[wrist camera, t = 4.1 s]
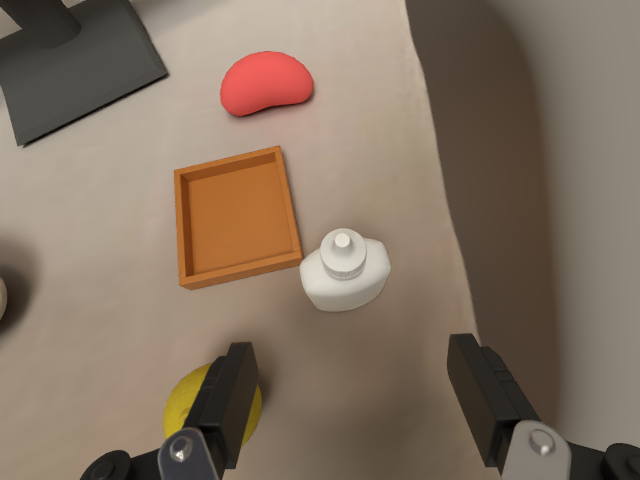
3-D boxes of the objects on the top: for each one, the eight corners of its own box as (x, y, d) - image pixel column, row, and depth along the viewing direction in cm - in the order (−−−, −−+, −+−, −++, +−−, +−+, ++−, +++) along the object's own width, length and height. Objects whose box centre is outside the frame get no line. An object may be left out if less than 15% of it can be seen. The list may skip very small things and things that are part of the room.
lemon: (283, 374, 24) (253, 383, 17) (257, 454, 22) (210, 504, 15) (220, 351, 25) (164, 350, 18) (190, 425, 24) (115, 459, 16)
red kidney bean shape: (245, 86, 36) (204, 61, 31) (313, 55, 33) (281, 20, 27) (252, 130, 36) (212, 113, 31) (321, 104, 32) (291, 79, 27)
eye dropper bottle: (320, 257, 27) (298, 189, 16) (385, 272, 26) (410, 210, 15) (306, 307, 26) (272, 271, 14) (374, 324, 25) (394, 299, 14)
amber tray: (305, 264, 27) (301, 257, 25) (190, 290, 27) (178, 285, 25) (283, 157, 31) (279, 145, 29) (184, 181, 31) (173, 170, 29)
